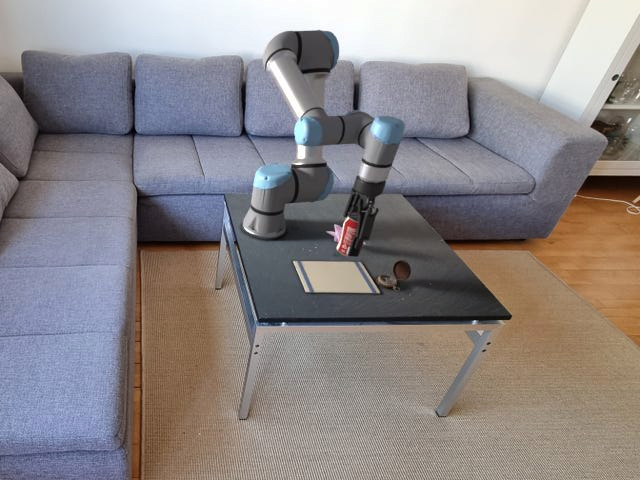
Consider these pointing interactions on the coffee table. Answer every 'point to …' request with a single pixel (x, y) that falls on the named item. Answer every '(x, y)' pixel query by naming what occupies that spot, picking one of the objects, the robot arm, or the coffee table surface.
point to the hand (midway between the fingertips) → (348, 248)
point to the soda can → (348, 234)
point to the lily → (337, 233)
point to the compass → (395, 275)
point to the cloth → (335, 277)
